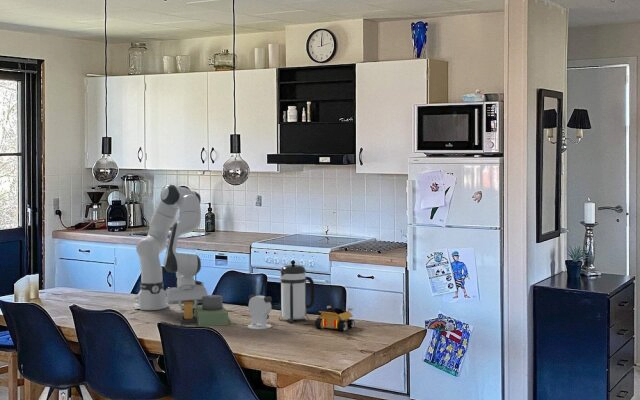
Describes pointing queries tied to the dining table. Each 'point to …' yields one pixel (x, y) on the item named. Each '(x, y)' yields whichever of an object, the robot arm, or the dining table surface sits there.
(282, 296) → the coffee press
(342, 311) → the yellow toy truck
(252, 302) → the panda figurine
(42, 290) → the dining table surface
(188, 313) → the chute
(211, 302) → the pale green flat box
